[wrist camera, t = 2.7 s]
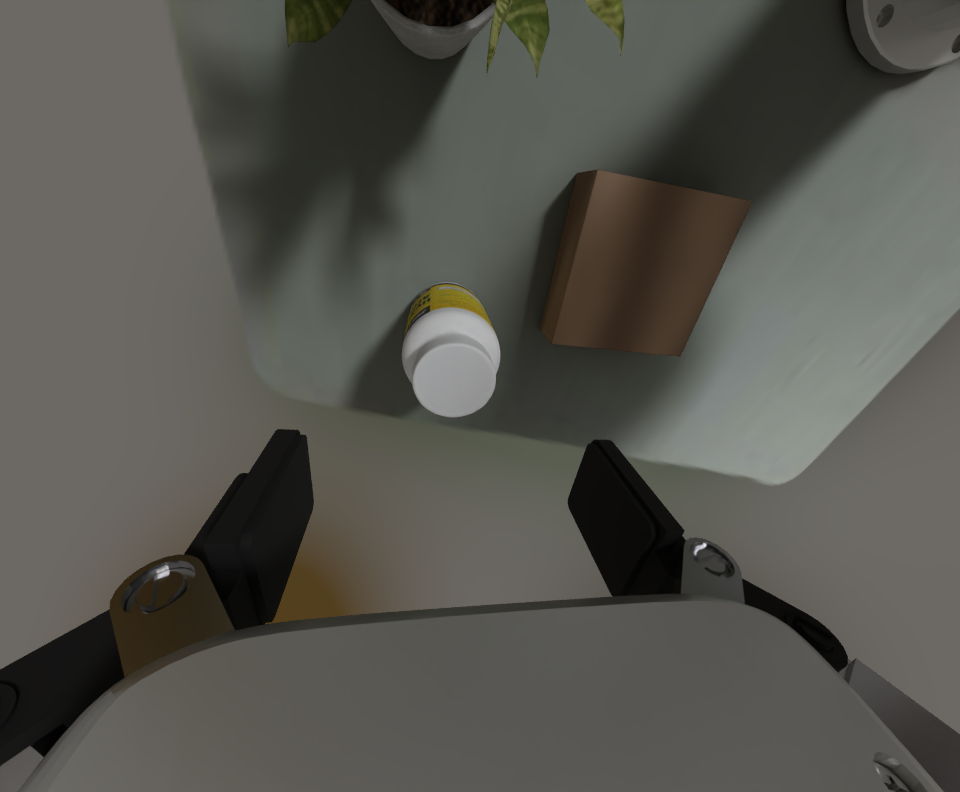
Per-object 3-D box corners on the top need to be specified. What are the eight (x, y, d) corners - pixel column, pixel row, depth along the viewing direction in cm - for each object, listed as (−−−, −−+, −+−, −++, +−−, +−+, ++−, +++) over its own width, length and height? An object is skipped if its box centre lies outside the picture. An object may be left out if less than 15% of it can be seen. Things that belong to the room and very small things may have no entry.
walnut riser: (716, 200, 23) (752, 201, 20) (656, 341, 28) (680, 356, 25) (577, 173, 21) (598, 169, 18) (539, 329, 26) (551, 343, 23)
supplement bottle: (420, 268, 23) (415, 310, 14) (495, 295, 24) (531, 348, 16) (399, 342, 25) (385, 416, 16) (469, 362, 26) (488, 439, 18)
